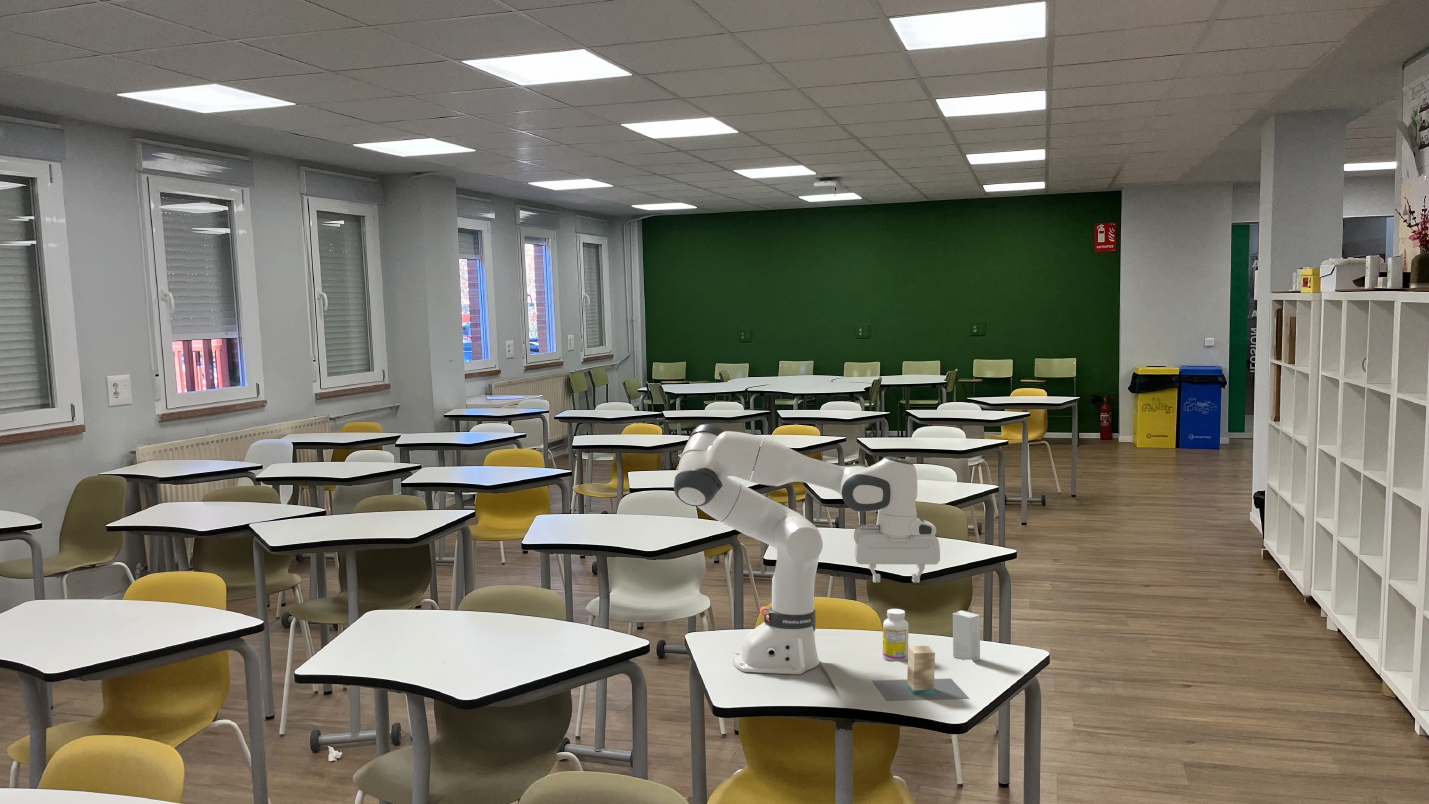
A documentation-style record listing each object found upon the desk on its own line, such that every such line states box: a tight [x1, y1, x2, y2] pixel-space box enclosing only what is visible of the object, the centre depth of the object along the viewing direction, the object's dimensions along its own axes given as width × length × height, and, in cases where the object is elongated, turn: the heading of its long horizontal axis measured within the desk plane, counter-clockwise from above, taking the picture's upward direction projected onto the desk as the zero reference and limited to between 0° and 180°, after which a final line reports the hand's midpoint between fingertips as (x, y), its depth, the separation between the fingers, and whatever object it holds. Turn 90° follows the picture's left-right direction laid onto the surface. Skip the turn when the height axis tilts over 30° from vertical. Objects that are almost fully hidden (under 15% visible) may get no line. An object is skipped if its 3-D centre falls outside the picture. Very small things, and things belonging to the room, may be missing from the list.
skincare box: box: [952, 610, 981, 662], centre depth 257 cm, size 6×4×12 cm
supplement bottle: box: [882, 608, 910, 663], centre depth 256 cm, size 7×7×13 cm
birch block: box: [906, 645, 936, 694], centre depth 231 cm, size 5×5×10 cm
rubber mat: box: [872, 677, 971, 702], centre depth 232 cm, size 20×13×1 cm, turn 95°
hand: (896, 582), depth 231 cm, fingers open, 8 cm apart
